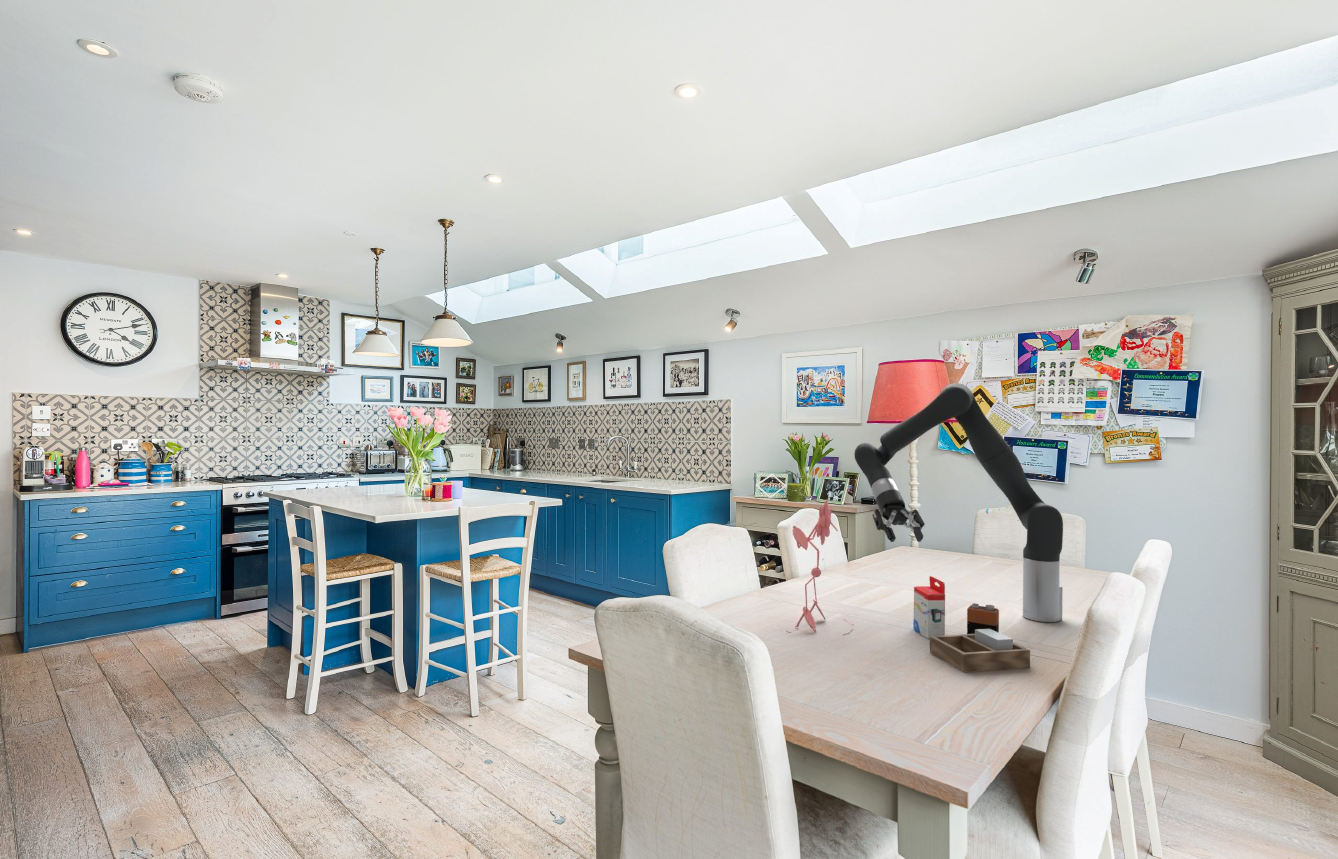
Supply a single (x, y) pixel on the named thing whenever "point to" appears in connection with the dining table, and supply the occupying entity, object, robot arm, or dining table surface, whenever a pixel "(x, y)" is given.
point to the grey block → (993, 639)
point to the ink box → (930, 609)
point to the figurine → (802, 540)
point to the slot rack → (977, 654)
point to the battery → (982, 618)
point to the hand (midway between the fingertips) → (907, 540)
